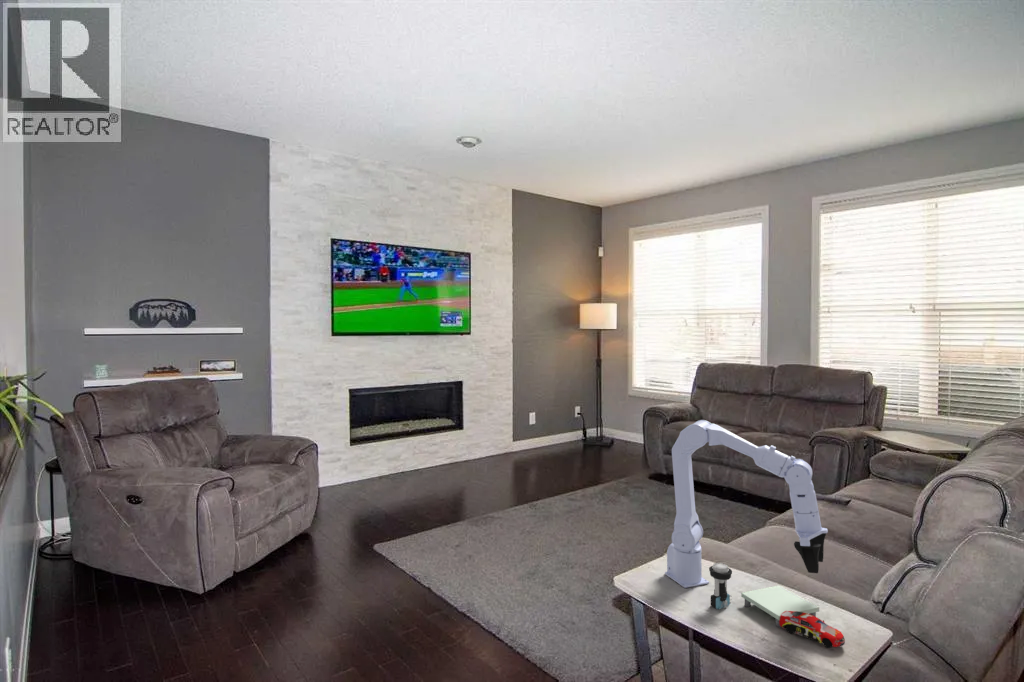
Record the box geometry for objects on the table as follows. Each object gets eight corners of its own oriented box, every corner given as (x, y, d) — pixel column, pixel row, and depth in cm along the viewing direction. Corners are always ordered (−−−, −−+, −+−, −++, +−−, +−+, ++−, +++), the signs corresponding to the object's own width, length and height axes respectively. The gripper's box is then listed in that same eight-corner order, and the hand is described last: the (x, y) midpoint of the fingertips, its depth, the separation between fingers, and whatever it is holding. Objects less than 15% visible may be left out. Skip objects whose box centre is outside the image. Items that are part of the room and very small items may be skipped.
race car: (849, 644, 117) (848, 625, 117) (838, 653, 114) (838, 634, 114) (787, 620, 127) (787, 603, 127) (776, 627, 124) (775, 610, 124)
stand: (741, 604, 135) (741, 592, 135) (779, 596, 139) (779, 585, 139) (779, 629, 124) (779, 616, 124) (819, 619, 128) (819, 607, 128)
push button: (722, 597, 139) (721, 558, 139) (740, 605, 135) (740, 565, 135) (704, 604, 136) (704, 564, 136) (723, 613, 131) (722, 572, 131)
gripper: (819, 519, 125) (830, 579, 124) (827, 503, 137) (838, 557, 136) (786, 518, 129) (796, 576, 128) (797, 502, 141) (807, 555, 140)
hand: (815, 566), depth 132 cm, fingers open, 7 cm apart
